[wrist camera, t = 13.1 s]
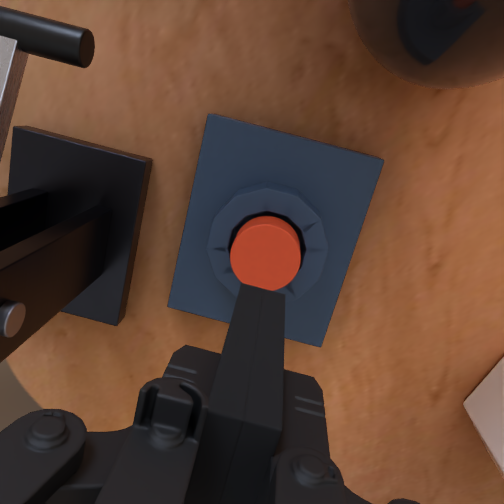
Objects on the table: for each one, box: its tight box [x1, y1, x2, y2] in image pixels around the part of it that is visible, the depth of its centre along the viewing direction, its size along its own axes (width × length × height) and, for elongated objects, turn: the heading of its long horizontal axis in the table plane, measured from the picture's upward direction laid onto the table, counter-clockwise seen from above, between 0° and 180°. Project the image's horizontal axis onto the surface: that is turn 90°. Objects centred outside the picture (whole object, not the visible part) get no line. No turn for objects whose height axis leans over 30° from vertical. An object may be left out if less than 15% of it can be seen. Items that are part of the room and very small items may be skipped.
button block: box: [168, 114, 384, 347], centre depth 26 cm, size 12×10×4 cm
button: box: [230, 216, 301, 291], centre depth 24 cm, size 4×4×2 cm
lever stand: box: [0, 126, 153, 362], centre depth 23 cm, size 11×8×14 cm
